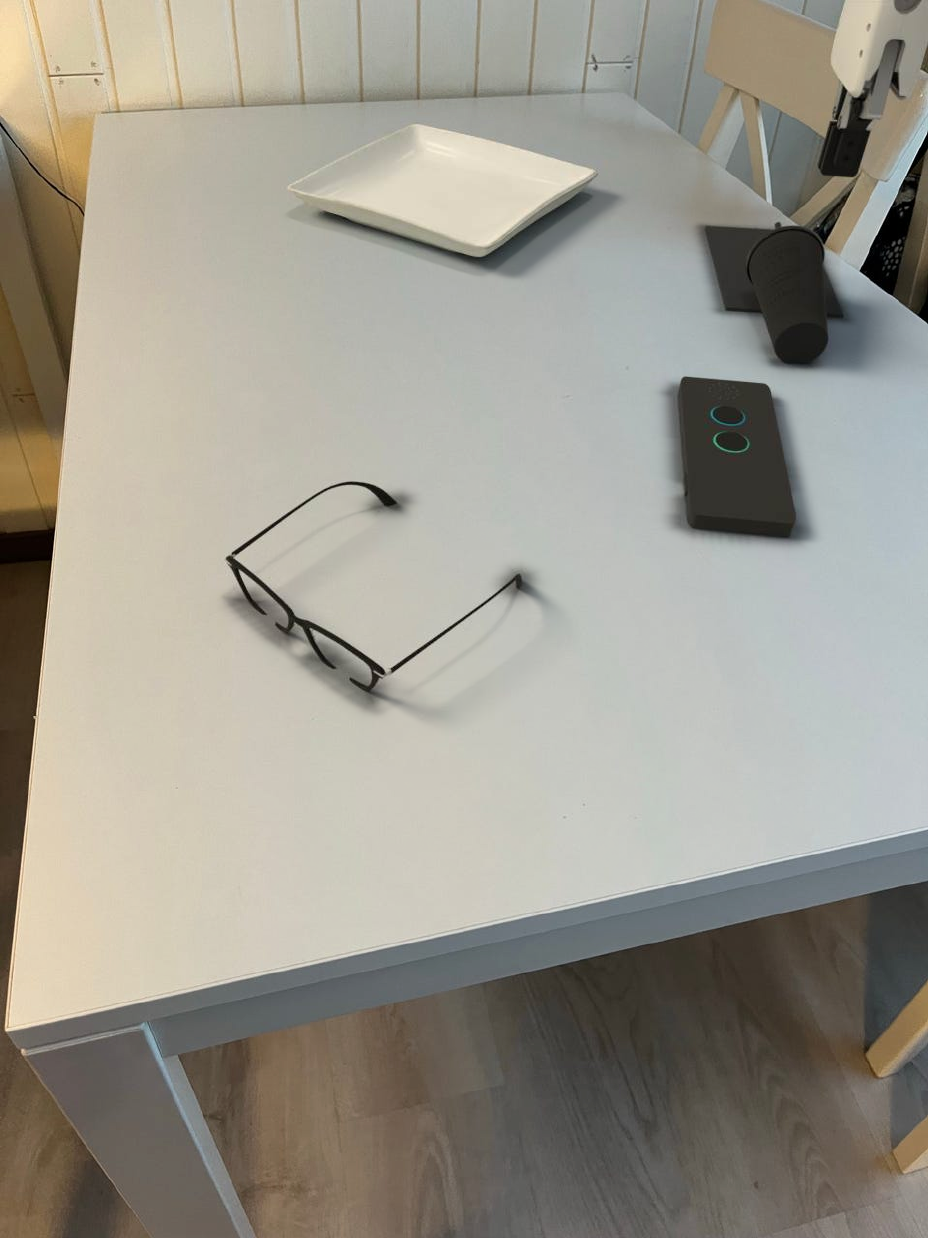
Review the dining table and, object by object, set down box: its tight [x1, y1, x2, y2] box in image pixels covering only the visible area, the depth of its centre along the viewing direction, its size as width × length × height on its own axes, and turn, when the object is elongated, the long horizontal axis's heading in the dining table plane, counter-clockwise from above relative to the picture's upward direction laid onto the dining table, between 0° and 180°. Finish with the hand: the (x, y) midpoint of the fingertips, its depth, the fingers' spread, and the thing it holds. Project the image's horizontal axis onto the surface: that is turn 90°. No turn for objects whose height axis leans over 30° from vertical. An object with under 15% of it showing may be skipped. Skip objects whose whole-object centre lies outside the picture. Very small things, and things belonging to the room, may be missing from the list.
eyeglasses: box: [224, 480, 523, 692], centre depth 66 cm, size 16×16×4 cm
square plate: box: [286, 123, 599, 258], centre depth 114 cm, size 27×27×4 cm
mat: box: [704, 225, 845, 319], centre depth 105 cm, size 20×12×1 cm, turn 176°
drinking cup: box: [746, 221, 829, 365], centre depth 95 cm, size 8×8×20 cm
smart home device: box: [677, 376, 797, 539], centre depth 80 cm, size 8×2×20 cm
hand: (836, 172), depth 85 cm, fingers closed
